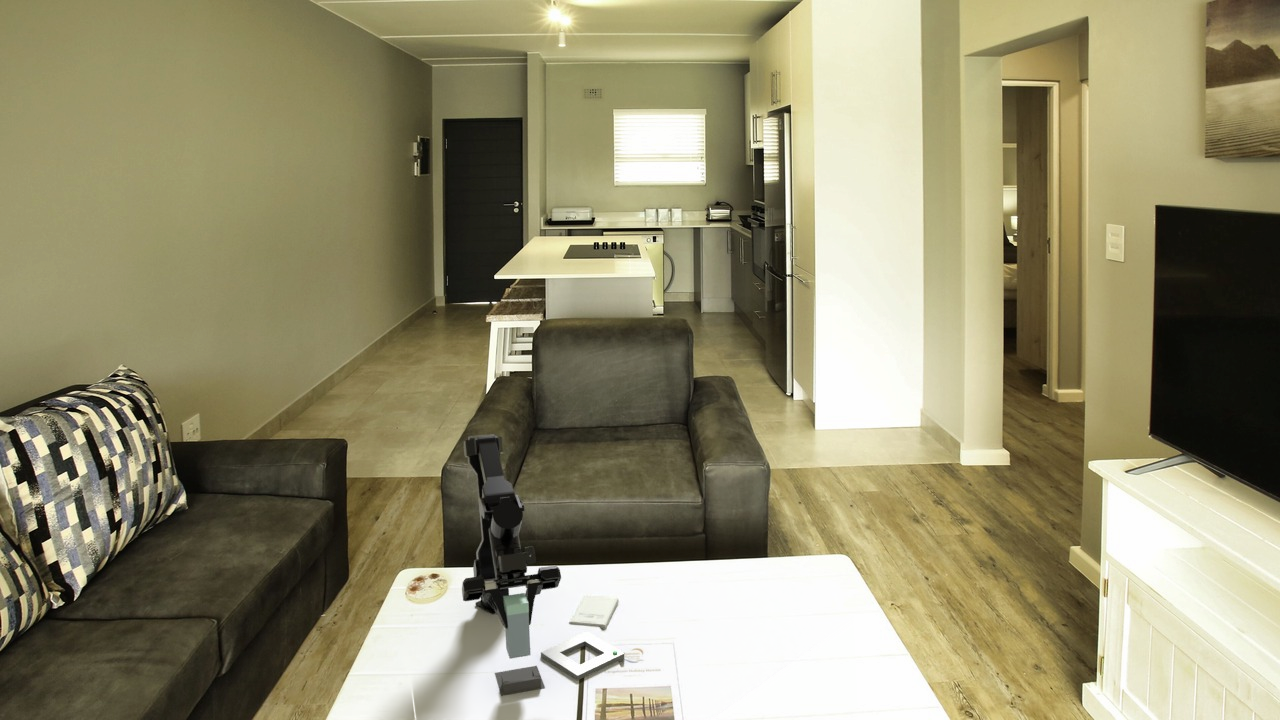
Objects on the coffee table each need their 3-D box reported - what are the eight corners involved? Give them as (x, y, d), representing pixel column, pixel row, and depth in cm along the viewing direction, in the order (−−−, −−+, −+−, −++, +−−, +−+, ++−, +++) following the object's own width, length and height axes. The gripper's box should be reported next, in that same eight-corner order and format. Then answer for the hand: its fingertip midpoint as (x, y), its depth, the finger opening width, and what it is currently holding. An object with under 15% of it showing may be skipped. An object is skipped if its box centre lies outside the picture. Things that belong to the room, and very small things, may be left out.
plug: (505, 648, 181) (503, 596, 179) (526, 644, 182) (524, 592, 180) (509, 659, 177) (506, 605, 175) (530, 655, 178) (528, 602, 176)
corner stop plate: (494, 675, 184) (494, 663, 183) (536, 667, 186) (536, 656, 186) (501, 698, 176) (500, 686, 176) (545, 690, 178) (544, 678, 178)
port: (541, 658, 190) (540, 650, 189) (587, 638, 197) (586, 630, 197) (577, 682, 181) (577, 674, 180) (624, 659, 189) (624, 651, 188)
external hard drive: (618, 604, 213) (605, 631, 201) (583, 601, 215) (569, 627, 203) (618, 597, 213) (605, 624, 201) (583, 594, 215) (568, 620, 203)
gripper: (460, 539, 176) (470, 620, 168) (557, 526, 181) (572, 604, 173) (457, 561, 185) (467, 639, 177) (550, 548, 190) (564, 623, 182)
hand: (518, 626), depth 177 cm, fingers closed on plug, 4 cm apart
